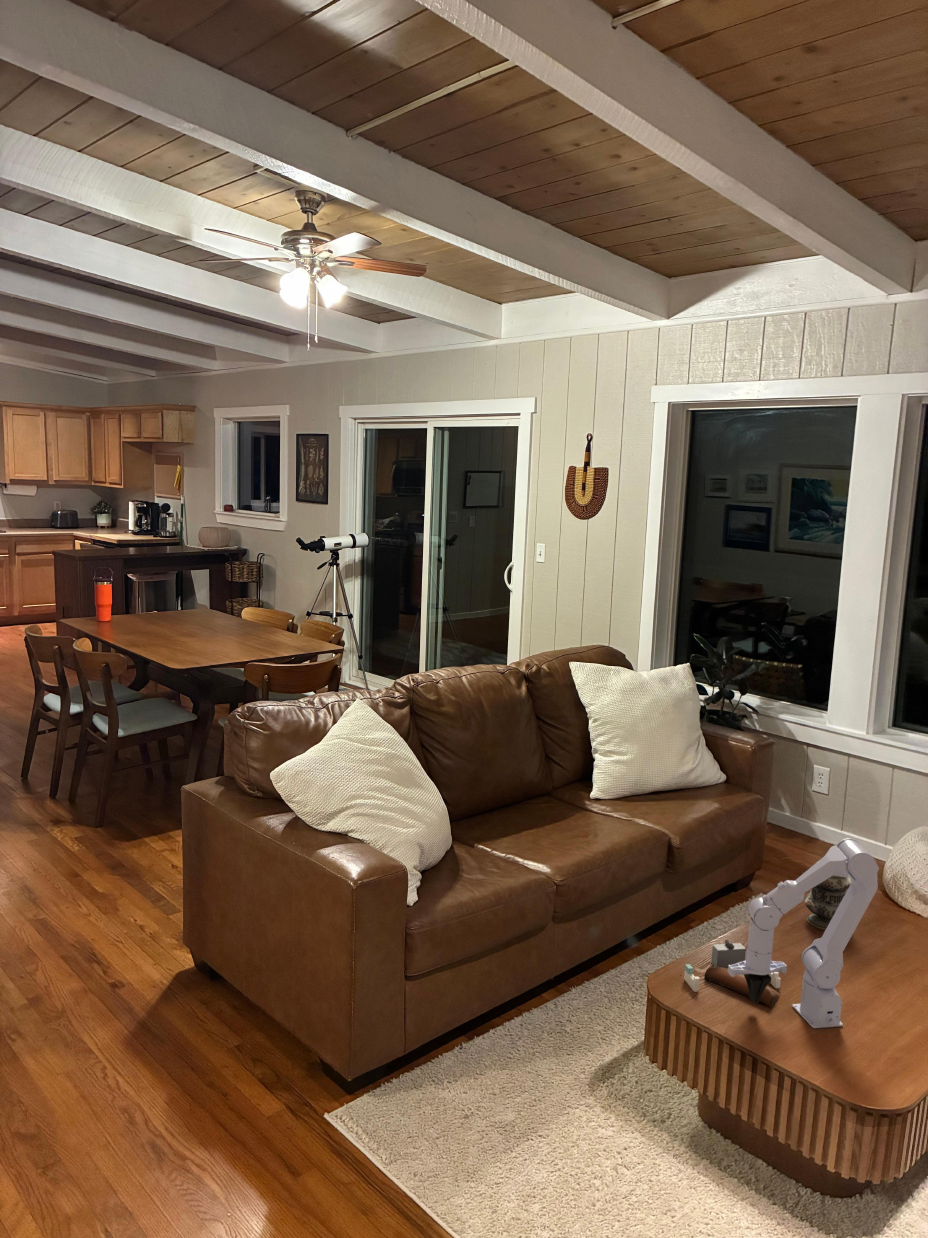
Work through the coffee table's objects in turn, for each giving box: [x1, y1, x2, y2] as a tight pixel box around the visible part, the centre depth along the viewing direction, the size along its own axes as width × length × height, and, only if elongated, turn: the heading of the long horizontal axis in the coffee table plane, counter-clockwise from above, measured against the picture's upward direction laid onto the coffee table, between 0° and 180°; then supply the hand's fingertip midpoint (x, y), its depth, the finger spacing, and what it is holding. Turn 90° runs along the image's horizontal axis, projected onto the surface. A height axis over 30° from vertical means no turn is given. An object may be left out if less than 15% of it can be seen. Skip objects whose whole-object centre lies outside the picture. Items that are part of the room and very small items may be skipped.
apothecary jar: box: [804, 875, 851, 931], centre depth 267 cm, size 12×12×18 cm
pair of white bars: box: [683, 963, 782, 993], centre depth 235 cm, size 11×23×4 cm, turn 101°
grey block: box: [710, 939, 747, 968], centre depth 242 cm, size 3×8×6 cm, turn 101°
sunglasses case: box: [703, 966, 782, 1008], centre depth 231 cm, size 18×7×7 cm
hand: (754, 1000), depth 221 cm, fingers closed
